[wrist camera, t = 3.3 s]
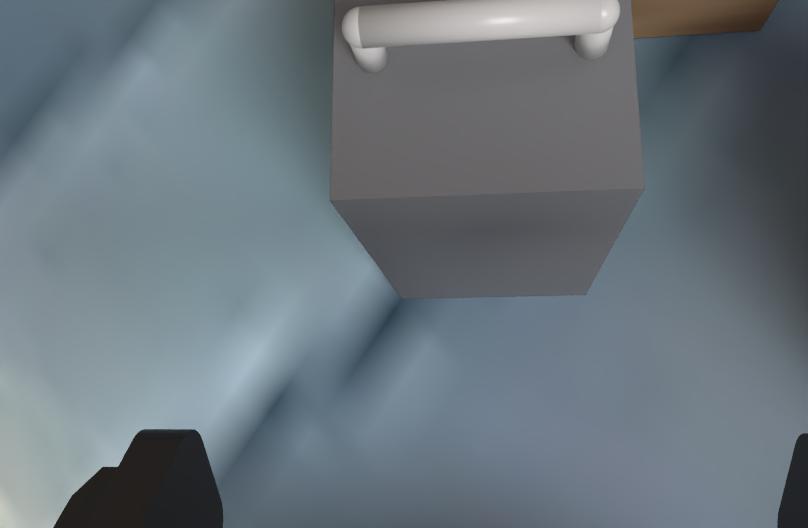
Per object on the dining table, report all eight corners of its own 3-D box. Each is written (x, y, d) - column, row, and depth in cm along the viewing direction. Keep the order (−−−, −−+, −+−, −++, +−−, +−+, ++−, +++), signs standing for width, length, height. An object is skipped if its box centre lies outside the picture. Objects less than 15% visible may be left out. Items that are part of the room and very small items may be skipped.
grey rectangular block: (402, 298, 23) (310, 173, 12) (402, 131, 25) (318, -120, 14) (585, 294, 23) (660, 158, 12) (576, 122, 24) (637, -150, 13)
